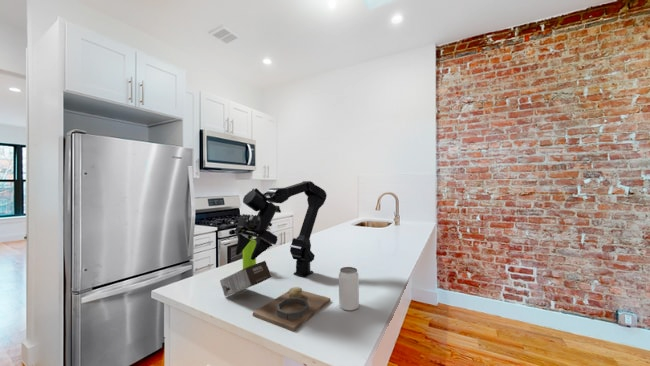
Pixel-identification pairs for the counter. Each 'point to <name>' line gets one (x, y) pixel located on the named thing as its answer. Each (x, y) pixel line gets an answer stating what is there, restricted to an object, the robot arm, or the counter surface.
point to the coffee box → (245, 278)
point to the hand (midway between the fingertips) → (244, 257)
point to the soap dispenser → (249, 254)
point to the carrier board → (292, 308)
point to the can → (348, 288)
